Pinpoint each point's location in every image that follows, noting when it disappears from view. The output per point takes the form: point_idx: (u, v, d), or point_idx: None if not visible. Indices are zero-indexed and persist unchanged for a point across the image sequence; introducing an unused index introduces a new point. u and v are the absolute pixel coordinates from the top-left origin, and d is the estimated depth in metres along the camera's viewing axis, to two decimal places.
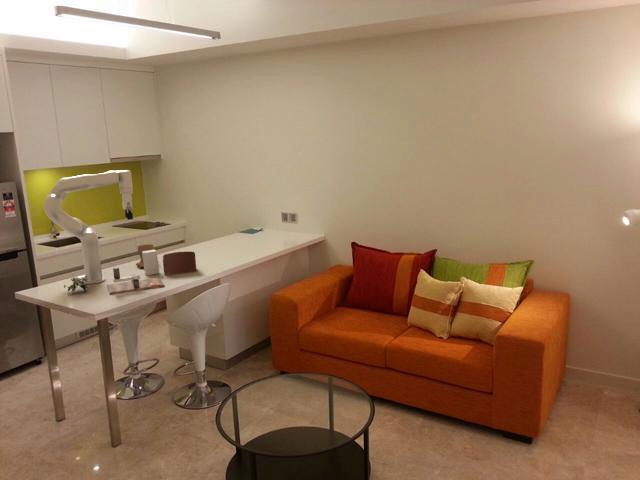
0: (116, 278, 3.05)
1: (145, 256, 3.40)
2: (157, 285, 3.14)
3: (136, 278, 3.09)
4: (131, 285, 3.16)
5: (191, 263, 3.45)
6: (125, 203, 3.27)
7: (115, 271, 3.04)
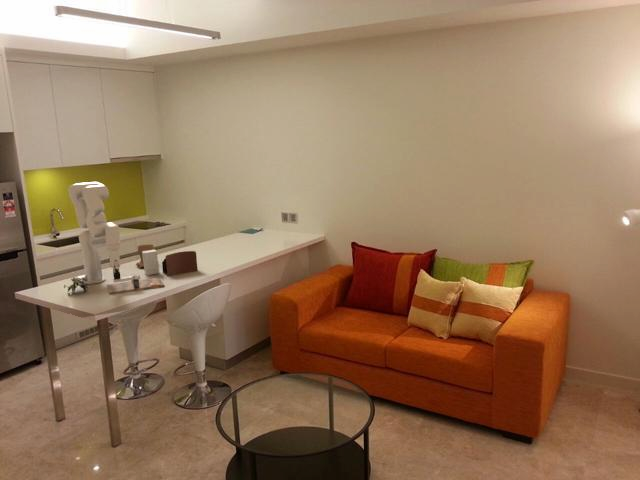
0: None
1: (145, 256, 3.40)
2: (157, 285, 3.14)
3: (136, 278, 3.09)
4: (131, 285, 3.16)
5: (192, 262, 3.46)
6: (112, 261, 2.99)
7: None
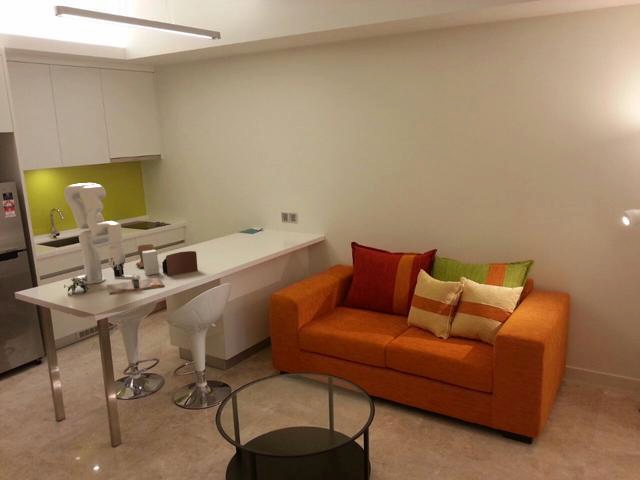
0: None
1: (145, 256, 3.40)
2: (157, 285, 3.14)
3: (134, 278, 3.09)
4: (131, 285, 3.16)
5: (192, 262, 3.46)
6: (109, 258, 3.05)
7: None
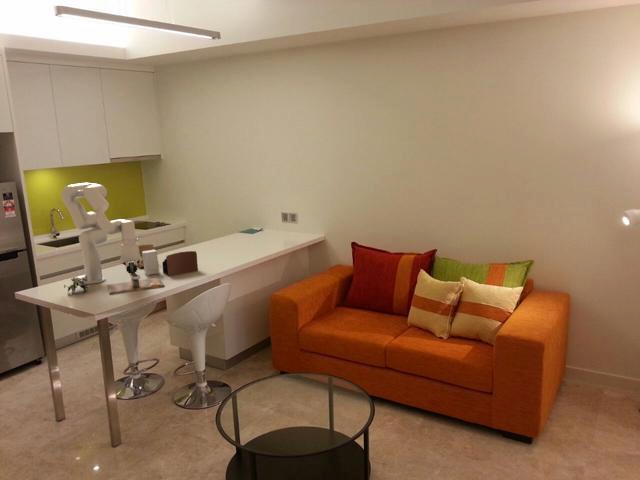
0: (129, 271, 3.19)
1: (145, 256, 3.40)
2: (157, 285, 3.14)
3: None
4: (131, 285, 3.16)
5: (193, 263, 3.46)
6: None
7: None
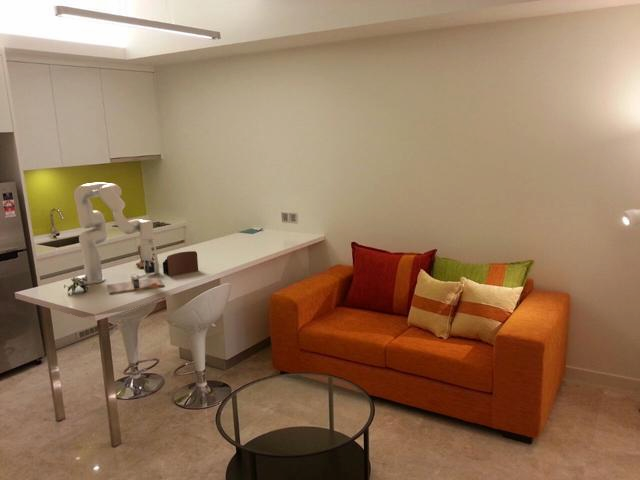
0: None
1: None
2: (157, 285, 3.14)
3: None
4: (131, 285, 3.16)
5: (193, 263, 3.46)
6: None
7: None
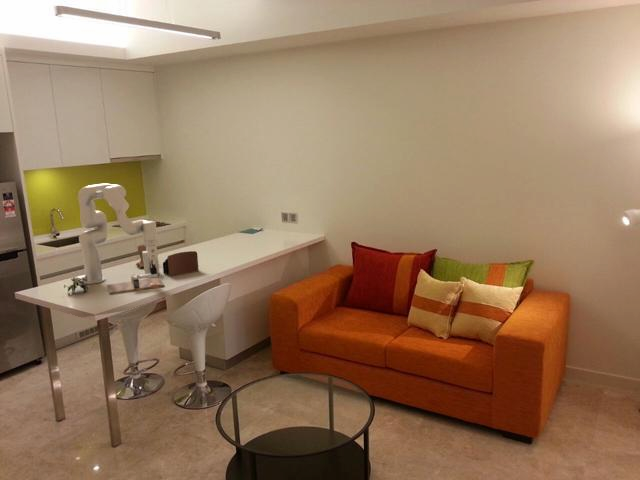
0: None
1: (145, 256, 3.40)
2: (157, 285, 3.14)
3: None
4: (131, 285, 3.16)
5: (193, 263, 3.46)
6: None
7: None
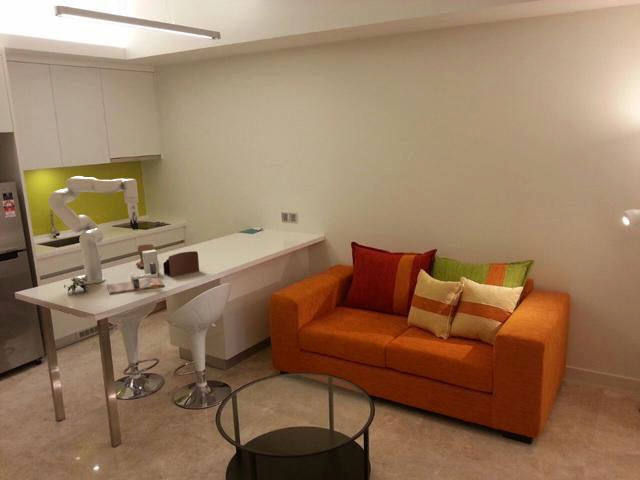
0: None
1: (145, 256, 3.40)
2: (157, 285, 3.14)
3: None
4: (131, 285, 3.16)
5: (194, 263, 3.46)
6: None
7: None
